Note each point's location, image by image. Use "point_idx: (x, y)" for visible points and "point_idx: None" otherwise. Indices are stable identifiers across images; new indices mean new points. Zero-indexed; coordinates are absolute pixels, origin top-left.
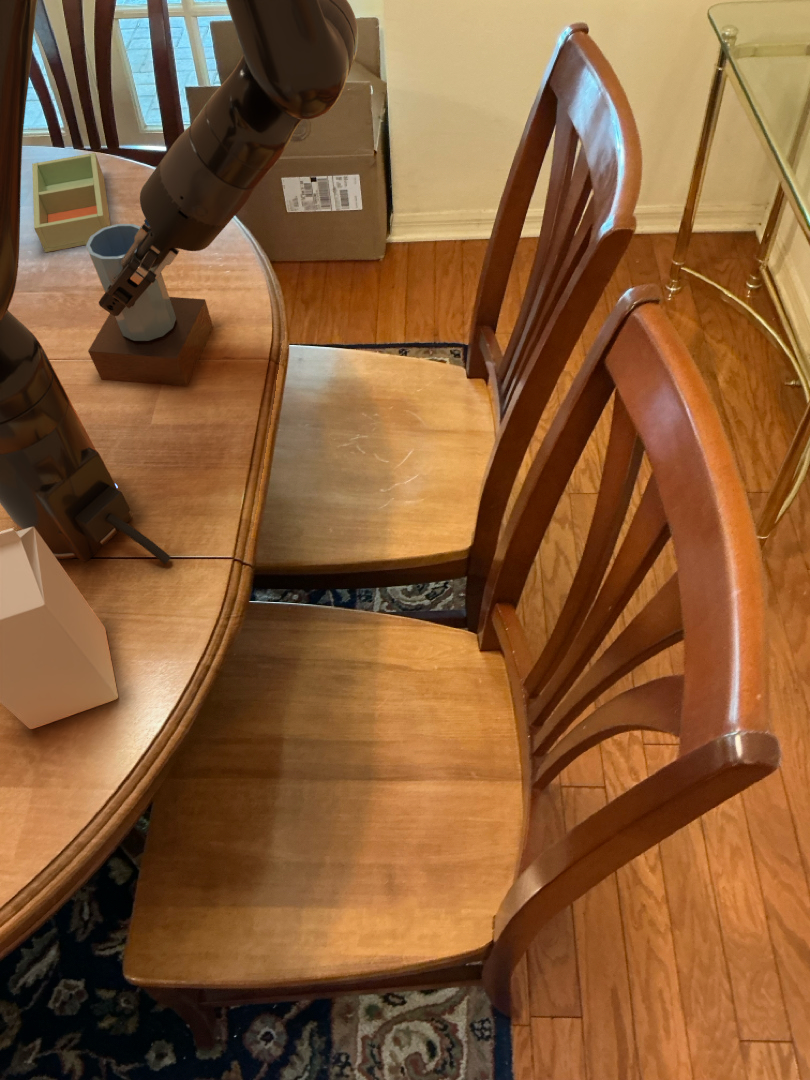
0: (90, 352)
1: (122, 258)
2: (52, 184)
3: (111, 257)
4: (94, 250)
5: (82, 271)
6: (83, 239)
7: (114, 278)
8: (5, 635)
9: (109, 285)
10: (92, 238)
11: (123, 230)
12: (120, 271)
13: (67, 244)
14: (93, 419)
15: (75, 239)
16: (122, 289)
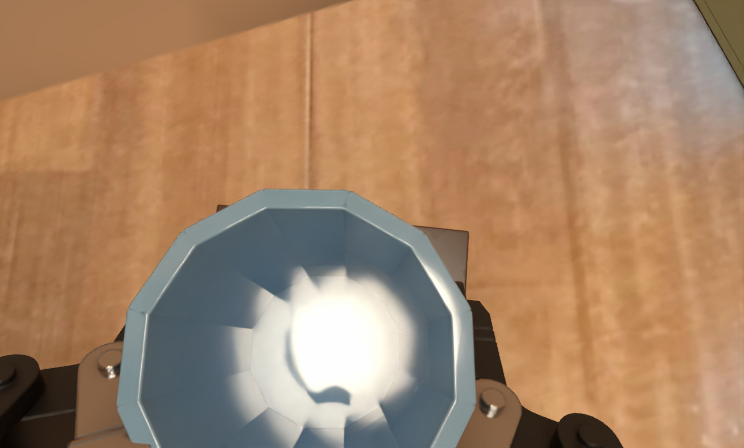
0: (216, 211)
1: (111, 442)
2: None
3: (132, 367)
4: (297, 220)
5: (627, 81)
6: (740, 53)
7: (101, 370)
8: None
9: (5, 374)
10: (326, 206)
11: (446, 340)
12: (100, 411)
13: (716, 21)
14: (104, 246)
15: (734, 35)
16: (4, 438)
